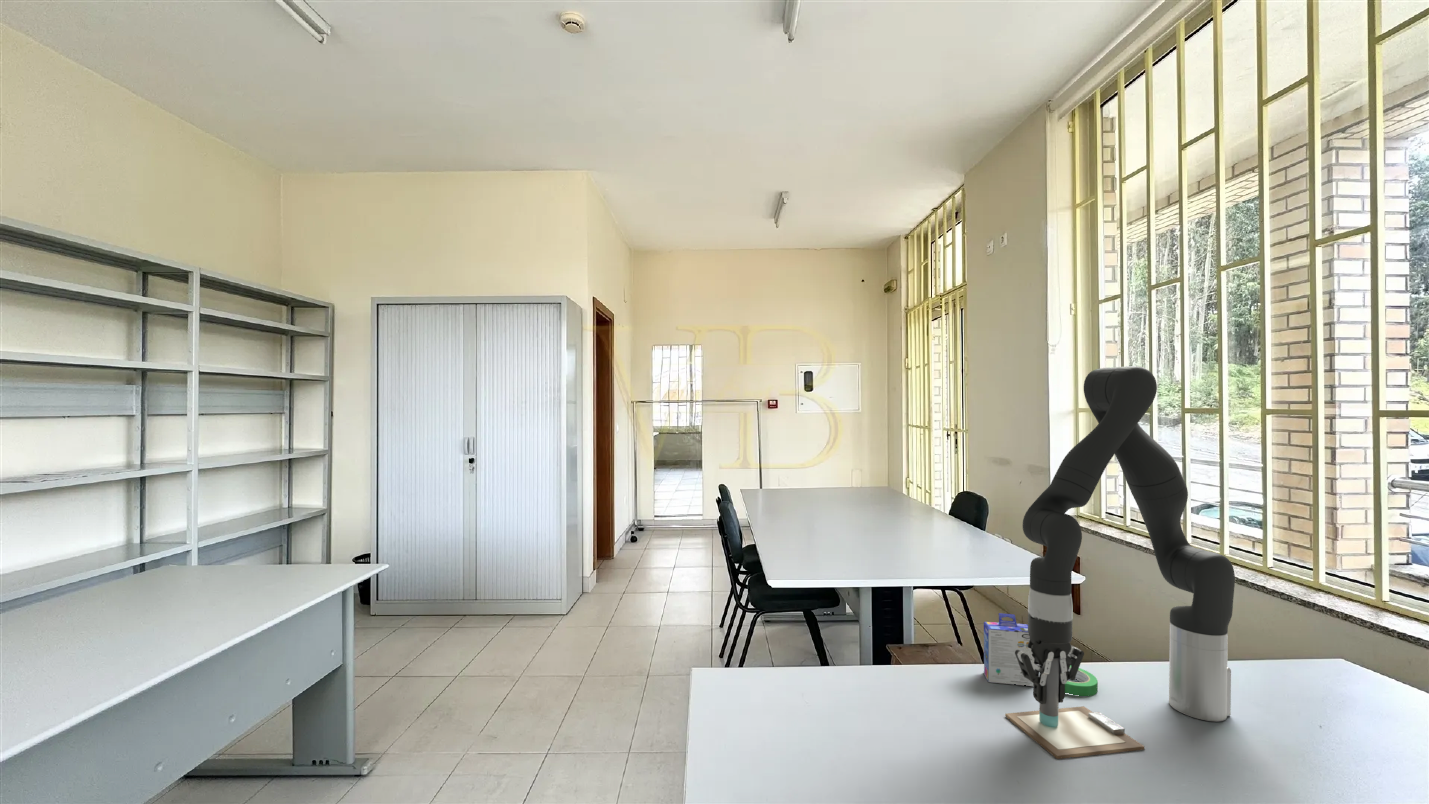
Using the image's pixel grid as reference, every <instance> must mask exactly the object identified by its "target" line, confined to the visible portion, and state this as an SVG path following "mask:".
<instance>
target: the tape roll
mask: <svg viewBox="0 0 1429 804" xmlns="http://www.w3.org/2000/svg"><path fill="white" fill-rule="evenodd" d="M1070 669H1071V665H1070V668H1069V670H1068V671H1069V672H1070ZM1076 679H1077V681H1076V682H1075V681H1072V680H1068V681H1067V683H1066V684H1065V693H1069V694H1073V695H1079V696H1078V697H1080V696H1088V697H1092V696H1096V693H1097V694H1098V693H1099V692H1098V687H1099V686H1098V684H1099V682H1098V681H1099V680H1098V678H1097V677H1096V676H1095V675H1094V674H1092V673H1091V672H1089V671H1088V670H1085V669H1083V668H1080V667H1079V669H1078V672H1077V674H1076V677H1075V679H1074V680H1076ZM1078 681H1079V682H1078Z"/></svg>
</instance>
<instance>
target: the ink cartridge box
mask: <svg viewBox="0 0 1429 804" xmlns="http://www.w3.org/2000/svg"><path fill="white" fill-rule="evenodd" d="M1003 618H1009V619H1012V620H1003ZM1029 641H1030V636H1029V633H1028V623H1027V624H1026V623H1025V624H1023V623H1017V620H1016V615H1015V614H1012V613H1000V612H999V613H998V622H995V621H994V622H992V621H983V674H984V677H985V678H986V680H987V682H988V683H996V684H1005V685H1014V684H1016V686H1024V685H1026V686H1025V687H1033V683H1032V682H1031V681H1030V680H1028V679H1027V678H1025V677H1024V676H1023V673H1022V671H1021V668H1020V665H1019V663H1018V660H1017V658H1016V655H1015V651H1016V650H1020V651H1022V650H1024V649H1026V648H1028V643H1029ZM1031 659H1033V656H1032V655H1031ZM1031 664H1032V662H1031Z"/></svg>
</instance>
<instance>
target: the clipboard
mask: <svg viewBox="0 0 1429 804" xmlns="http://www.w3.org/2000/svg"><path fill="white" fill-rule="evenodd" d="M1004 715H1005V716H1006V717H1007V719H1008V720H1009V719H1010V720H1009V721H1010V722H1011V723H1012V724H1014V725H1015V726H1016V727H1017V728H1018V729H1020V730H1021V731H1022V732H1024V733H1025V735H1027V736H1028V737H1030V738H1031V739H1032V740H1033V741H1034V742H1036V743H1037V744H1038V745H1040V746H1041V747H1042V748H1043V749H1044V750H1045V751H1047V753H1049V754H1051V756H1053V757H1054V758H1055V759H1056V760H1062V759H1070V757H1072V758H1080V757H1089V756H1090V757H1091V756H1097V755H1098V756H1099V755H1107V754H1116V753H1124V752H1125V753H1126V752H1133V751H1143V750H1145V746H1144V744H1142V743H1140V742H1139V741H1137V740H1136V739H1134V738H1133V737H1131V736H1129V734H1126V733H1125V732H1126V731H1125V730H1126V728H1125V727H1124V726H1121V725H1120V724H1118V723H1117V722H1115V721H1114V720H1112V719H1111V718H1109V717H1107V716H1106V715H1104V713H1101V711H1094V712H1093V711H1092V710H1090V709H1089V708H1087V707H1086V706H1084V705H1083V706H1073V707H1072V706H1071V707H1064V708H1063V707H1061V708H1058V726H1057V727H1049V726H1046V725H1044V724H1042V723H1041V722H1040V721H1039V710H1029V711H1019V712H1010V713H1005V714H1004ZM1006 717H1005V718H1006Z"/></svg>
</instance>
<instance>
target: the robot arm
mask: <svg viewBox="0 0 1429 804" xmlns="http://www.w3.org/2000/svg"><path fill="white" fill-rule="evenodd" d="M1157 383H1158V382H1157V380H1156V378H1155V376H1154V374H1153V373H1152V372H1151V371H1150V370H1149V369H1148V368H1145V367H1143V366H1135V365H1133V366H1131V365H1130V366H1127V365H1126V366H1113V367H1103V368H1102V367H1101V368H1096V369H1093V370H1091V371H1090V372H1088V374H1086V377H1085V379H1084V382H1083V394H1084V399H1085V401H1086V404H1087V406H1088V407H1089V409H1090V412H1091V413H1092V415H1093V417H1094V418H1095V419H1096V421H1097V423H1098V424H1097V425H1095V428H1093V429H1092V431H1090V432H1089V433H1088V434H1087V435H1086V436H1085V437H1083V438H1082V440H1080V441H1078V442H1077V444H1075V445H1074V446H1073V447H1072V448H1071V449H1070V451H1068V452H1067V454H1066V455H1065V456H1064V458H1063V459H1062V461H1061V463H1060V464H1059V467H1058V468H1057V470H1056V472H1055V474H1054V476H1053V479H1052V480H1051V482H1050V485H1048V487H1046V489H1045V490H1044V491H1043V492H1042V493H1040V495H1038V497H1037V498H1036V499H1035V501H1034V502H1033V503H1032V504H1031V505H1030V506H1029V507H1028V509H1027V510H1026V512H1025V514H1024V515H1023V519H1022V532H1023V534H1024V536H1025V537H1026V538H1027V539H1028V540H1029V541H1031V542H1033V543H1036V544H1039V545H1042V546H1045V547H1046V552H1045V555H1044V556H1037V557H1035V558H1033V559H1032V560H1031V562H1030V568H1029V591H1028V597H1027V604H1028V605H1027V625H1028V633H1029V636H1030V641H1029V643H1028V648H1026V649H1024V650H1022V651H1020V650H1016V651H1015V655H1016V658H1017V660H1018V663H1019V665H1020V668H1021V671H1022V673H1023V676H1024V677H1025V678H1027V679H1028V680H1030V681H1031V682H1032V683H1033V686H1032V687H1033V688H1032V689H1033V690H1032V692H1033V693H1032V695H1033V698H1034V699H1035V701H1036V702H1037V703H1039V705H1040V704H1046V685H1045V684H1046V678H1047V675H1048V674H1049V673H1050V668H1051V662H1052V660H1053V658H1058V659H1059V704H1060V703H1061V704H1062V703H1064V700H1065V698H1066V694H1065V684H1066V683H1067V681H1074V680H1076V679H1075V677H1076V674H1077V672H1078V669H1079V668H1080V666H1081V663H1082V661H1083V658H1084V655H1085V652H1084V651H1083V650H1081V649H1080V648H1078V647H1076V646H1074V645H1072V644H1071V642H1072V641H1073V621H1074V619H1073V613H1074V612H1073V597H1072V571H1073V569H1074V567H1075V564H1076V561H1077V558H1078V554H1079V551H1080V549H1081V545H1082V540H1083V533H1082V529H1081V525H1080V523H1079V521H1078V520H1077V519H1076V518H1075V517H1074V516H1072V515H1070V514H1068V513H1067V512H1068V511H1070V509H1073V508H1074V509H1075V508H1077V509H1078V508H1082V507H1085V506H1086V505H1087V504H1088V503H1089V501H1090V500H1091V497H1092V496H1093V493H1094V492H1095V489H1096V487H1097V486H1098V484H1099V481H1100V480H1101V478H1102V476H1103V474H1104V472H1105V471H1106V469H1107V466H1108V465H1109V463H1110V461H1111V460H1112V459H1113V457H1114V456H1115V457H1116V459H1117V462H1118V464H1119V465H1120V468H1121V470H1122V473H1123V477H1124V479H1125V481H1126V484H1127V485H1128V489H1129V490H1130V493H1131V496H1133V499H1134V500H1135V503H1136V505H1137V507H1138V510H1139V512H1140V515H1141V518H1142V520H1143V522H1144V526H1145V527H1146V530H1147V532H1148V535H1149V538H1150V542H1151V546H1152V548H1153V552H1154V556H1155V559H1156V563H1157V566H1158V568H1159V571H1160V573H1161V576H1162V577H1163V579H1164V580H1165V581H1166V582H1167V583H1168V584H1169V585H1171V586H1173V587H1175V588H1177V589H1179V590H1182V591H1185V592H1187V593H1192V595H1193V596H1192V597H1193V598H1192V603H1191V605H1177V606H1173V607H1172V608H1171V609H1170V611H1169V656H1168V658H1169V660H1168V661H1169V663H1168V666H1169V670H1168V671H1169V673H1168V676H1169V678H1168V705H1169V706H1171V707H1172V708H1173V709H1174V710H1176V711H1177V712H1179V713H1182V714H1184V715H1186V716H1188V717H1191V718H1194V719H1196V720H1197V719H1199V720H1202V721H1207V722H1224V721H1226V720H1227V718H1228V717H1229V716H1231V715H1232V714H1231V713H1232V711H1231V710H1232V709H1231V707H1232V701H1231V700H1232V699H1231V698H1232V670H1231V668H1230V667H1228V657H1229V656H1228V653H1229V651H1228V645H1229V644H1228V642H1229V639H1228V638H1229V637H1228V636H1229V635H1228V634H1229V631H1228V630H1229V624H1230V622H1231V619H1232V616H1233V609H1234V595H1235V585H1236V584H1235V583H1236V578H1235V577H1236V575H1235V568H1234V566H1233V564H1232V562H1231V560H1230V559H1229V558H1228V557H1226V556H1225V555H1223V554H1220V553H1218V552H1217V553H1216V552H1213V551H1210V550H1205V549H1201V548H1198V547H1193V546H1192V545H1190V542H1189V541H1188V540H1187V538H1186V536H1185V533H1184V531H1183V528H1182V524H1181V518H1182V516H1183V514H1184V511H1185V509H1186V506H1187V503H1188V497H1189V492H1188V487H1187V483H1186V482H1185V480H1184V477H1183V474H1182V472H1181V470H1180V467H1179V465H1178V464H1177V462H1176V460H1175V459H1174V458H1173V457H1172V455H1171V454H1170V453H1169V452H1168V451H1167V450H1166V449H1165V448H1164V447H1162V445H1161V444H1159V443H1158V442H1157V441H1156V440H1155V439H1154V438H1152V436H1151V435H1149V434H1148V433H1147V432H1146V431H1145V430H1144V429H1143V428H1142V426H1141V425H1140V424H1139V422H1140V421H1141V419H1142V418H1143V417H1144V416H1145V414H1146V413H1147V411H1148V410H1149V409H1150V407H1151V406H1152V404H1153V402H1154V400H1155V398H1156V396H1157V391H1158V388H1157V387H1158V384H1157ZM1031 655H1032V656H1033V659H1031ZM1031 662H1032V664H1031ZM1040 665H1042V666H1043V667H1041V666H1040ZM1070 665H1071V669H1070V672H1069V671H1068V670H1069V668H1070Z"/></svg>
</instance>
